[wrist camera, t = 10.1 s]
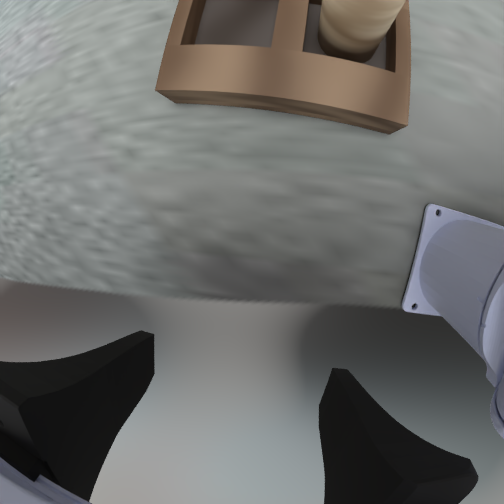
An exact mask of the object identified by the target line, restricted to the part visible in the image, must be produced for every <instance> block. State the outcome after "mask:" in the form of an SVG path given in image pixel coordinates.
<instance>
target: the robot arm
mask: <svg viewBox="0 0 504 504" xmlns="http://www.w3.org/2000/svg"><path fill="white" fill-rule="evenodd" d="M437 209H438V210H439V215H438V216H437V215H436V210H437ZM414 303H416V305H415V307H414V308H412V305H413V304H414ZM402 308H403V309H404V311H406V312H412V313H421V314H428V315H435V316H442V317H443V318H444V319H445V320H446V321H447V322H449V324H450V325H451V326H452V327H453V328H454V329H455V330H456V331H457V332H458V333H459V334H460V335H461V336H462V337H463V338H464V339H465V340H466V341H467V342H468V343H469V344H470V345H471V346H472V347H473V348H474V350H475V351H476V352H477V353H478V354H479V355H480V356H481V357H482V358H483V359H484V360H485V362H486V364H487V374H486V377H487V379H488V380H489V381H490V382H491V384H492V385H493V386H494V387H495V388H496V390H495V392H494V395H493V397H492V400H491V406H490V414H491V419H492V423H493V425H494V427H495V429H496V430H497V432H498V433H499V435H500V436H501V437H502V438H503V439H504V226H501V225H498V224H495V223H492V222H490V221H487V220H484V219H481V218H478V217H475V216H471V215H468V214H465V213H462V212H459V211H456V210H452V209H449V208H446V207H442V206H439V205H435V204H428V205H427V206H426V208H425V213H424V218H423V223H422V228H421V233H420V237H419V242H418V246H417V250H416V254H415V258H414V262H413V266H412V270H411V274H410V277H409V281H408V284H407V288H406V291H405V295H404V298H403V301H402ZM153 376H154V334H151V333H148V332H144V331H138V332H136V333H133V334H131V335H128V336H126V337H123V338H121V339H119V340H116V341H114V342H112V343H109V344H107V345H104V346H102V347H99V348H96V349H93V350H90V351H87V352H85V353H82V354H78V355H75V356H71V357H66V358H61V359H56V360H48V361H41V362H2V361H0V504H92V503H90V502H89V500H90V497H91V494H92V491H93V488H94V485H95V483H96V480H97V478H98V475H99V472H100V470H101V468H102V465H103V463H104V461H105V459H106V456H107V454H108V452H109V450H110V448H111V446H112V444H113V442H114V440H115V438H116V436H117V434H118V432H119V431H120V429H121V427H122V426H123V424H124V423H125V421H126V420H127V419H128V417H129V416H130V414H131V413H132V411H133V410H134V408H135V407H136V405H137V404H138V403H139V401H140V400H141V398H142V397H143V395H144V394H145V392H146V390H147V388H148V386H149V384H150V382H151V380H152V378H153ZM319 431H320V439H321V447H322V454H323V462H324V471H325V498H324V504H458V503H460V502H461V501H462V500H463V499H464V498H465V497H466V496H467V495H468V494H469V493H470V492H471V491H472V489H473V488H474V487H475V485H476V483H477V481H478V475H477V472H476V470H475V468H474V467H473V465H472V463H471V460H470V459H468V458H464V457H461V456H459V455H456V454H453V453H450V452H448V451H445V450H443V449H441V448H439V447H436V446H434V445H432V444H431V443H429V442H427V441H425V440H423V439H422V438H420V437H419V436H417V435H415V434H414V433H412V432H411V431H409V430H408V429H406V428H405V427H404V426H403V425H401V424H400V423H399V422H397V421H396V420H395V419H394V418H392V417H391V416H390V415H389V414H388V413H387V412H386V411H385V410H384V409H383V408H382V407H381V406H380V405H379V404H378V403H377V402H376V401H375V400H374V399H373V398H372V397H371V396H370V395H369V394H368V393H367V392H366V390H365V389H364V388H363V387H362V386H361V385H360V383H359V382H358V381H357V380H356V379H355V378H354V376H353V375H352V374H351V373H350V372H349V371H348V370H347V369H338V368H332V371H331V374H330V377H329V380H328V383H327V386H326V388H325V391H324V394H323V396H322V399H321V402H320V404H319Z"/></svg>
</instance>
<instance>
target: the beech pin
mask: <svg viewBox="0 0 504 504" xmlns="http://www.w3.org/2000/svg"><path fill="white" fill-rule="evenodd" d="M405 1H406V0H322V6H321V13H320V21H319V28H318V36H317V37H318V43H319V45H320V47H321V49H322V50H323V51H324V53H325V54H326V55H328V56H330V57H335V58H340V59H345V60H349V61H353V62H358V63H365V62H367V61H368V60H369V59H371V58H372V56H373V55H374V53H375V51H376V50H377V48H378V46H379V45H380V43H381V41H382V40H383V38H384V36H385V35H386V33H387V31H388V30H389V28H390V26H391V25H392V23H393V21H394V20H395V18H396V16H397V15H398V13H399V11H400V9H401V8H402V6H403V4H404V3H405Z"/></svg>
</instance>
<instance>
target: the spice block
mask: <svg viewBox="0 0 504 504" xmlns="http://www.w3.org/2000/svg"><path fill="white" fill-rule="evenodd" d="M321 6H322V0H179V2H178V5H177V8H176V12H175V15H174V18H173V21H172V25H171V28H170V32H169V35H168V39H167V43H166V46H165V50H164V54H163V58H162V62H161V66H160V70H159V75H158V79H157V84H156V88H155V91H157V92H159V93H160V94H162V95H163V96H165V97H167V98H168V99H170V100H171V101H173V102H174V103H187V104H208V105H223V106H235V107H245V108H255V109H263V110H271V111H278V112H285V113H292V114H298V115H304V116H310V117H315V118H321V119H326V120H331V121H336V122H340V123H345V124H350V125H354V126H358V127H362V128H366V129H370V130H374V131H378V132H382V133H386V134H391V133H393V132H395V131H398V130H400V129H402V128H404V127H406V126H408V116H409V101H410V78H411V36H410V15H409V1H408V0H406V1H405V3H404V4H403V6H402V8H401V9H400V11H399V13H398V15H397V16H396V18H395V20H394V21H393V23H392V25H391V26H390V28H389V30H388V31H387V33H386V35H385V36H384V38H383V40H382V41H381V43H380V45H379V46H378V48H377V50H376V51H375V53H374V55H373V56H372V58H371V59H369V60H368V61H367V62H365V63H358V62H353V61H349V60H345V59H340V58H335V57H330V56H328V55H326V54H325V53H324V51H323V50H322V49H321V47H320V45H319V43H318V37H317V36H318V28H319V21H320V13H321Z"/></svg>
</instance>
